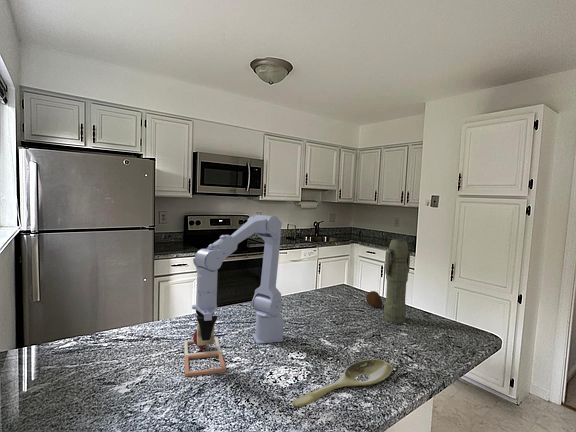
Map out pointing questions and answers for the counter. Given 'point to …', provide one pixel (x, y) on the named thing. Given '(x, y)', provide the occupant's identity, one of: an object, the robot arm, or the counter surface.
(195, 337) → the onion
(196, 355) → the terracotta frame
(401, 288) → the thermos
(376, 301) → the potato
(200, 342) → the birch block
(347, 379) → the spoon
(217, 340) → the cream frame
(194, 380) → the counter surface
